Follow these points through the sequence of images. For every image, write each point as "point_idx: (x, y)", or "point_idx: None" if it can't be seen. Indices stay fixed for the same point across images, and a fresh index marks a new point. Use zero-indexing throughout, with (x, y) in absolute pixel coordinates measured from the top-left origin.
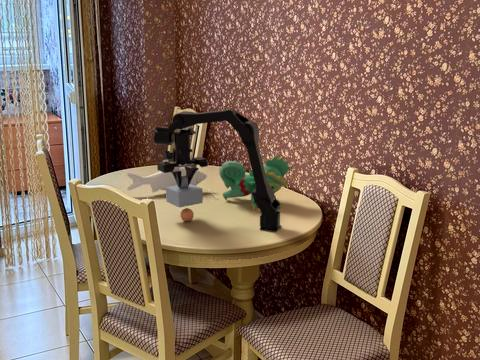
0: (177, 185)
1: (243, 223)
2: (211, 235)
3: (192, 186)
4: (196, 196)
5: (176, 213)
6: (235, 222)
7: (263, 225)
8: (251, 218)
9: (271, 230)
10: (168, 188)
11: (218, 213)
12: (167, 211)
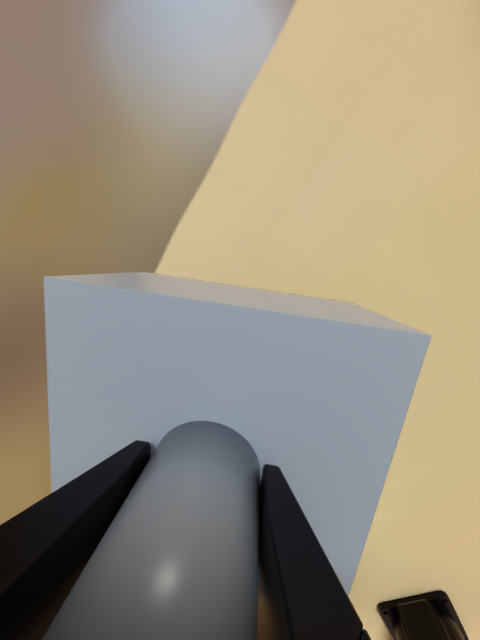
0: (215, 319)
1: (396, 531)
2: None
3: (325, 498)
4: None
5: (276, 227)
6: (383, 504)
7: (401, 627)
8: (476, 519)
9: (394, 638)
10: (49, 348)
11: (436, 378)
12: (260, 157)
